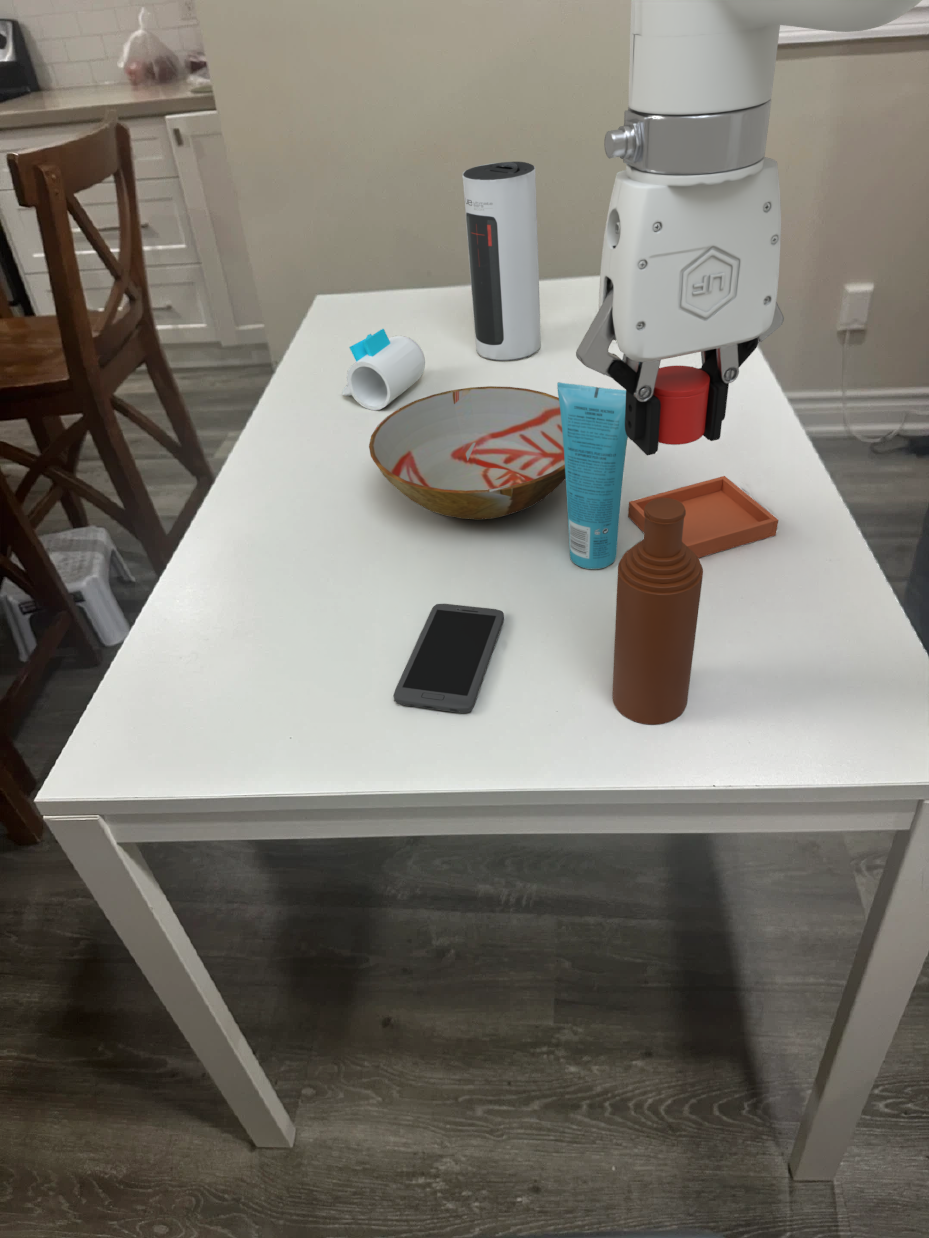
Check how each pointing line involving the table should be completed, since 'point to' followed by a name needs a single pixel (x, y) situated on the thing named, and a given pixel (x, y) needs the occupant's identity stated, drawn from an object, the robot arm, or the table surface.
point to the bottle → (656, 619)
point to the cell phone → (450, 658)
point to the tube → (593, 470)
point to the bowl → (473, 450)
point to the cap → (682, 403)
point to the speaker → (503, 259)
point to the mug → (383, 369)
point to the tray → (714, 516)
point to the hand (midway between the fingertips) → (673, 436)
